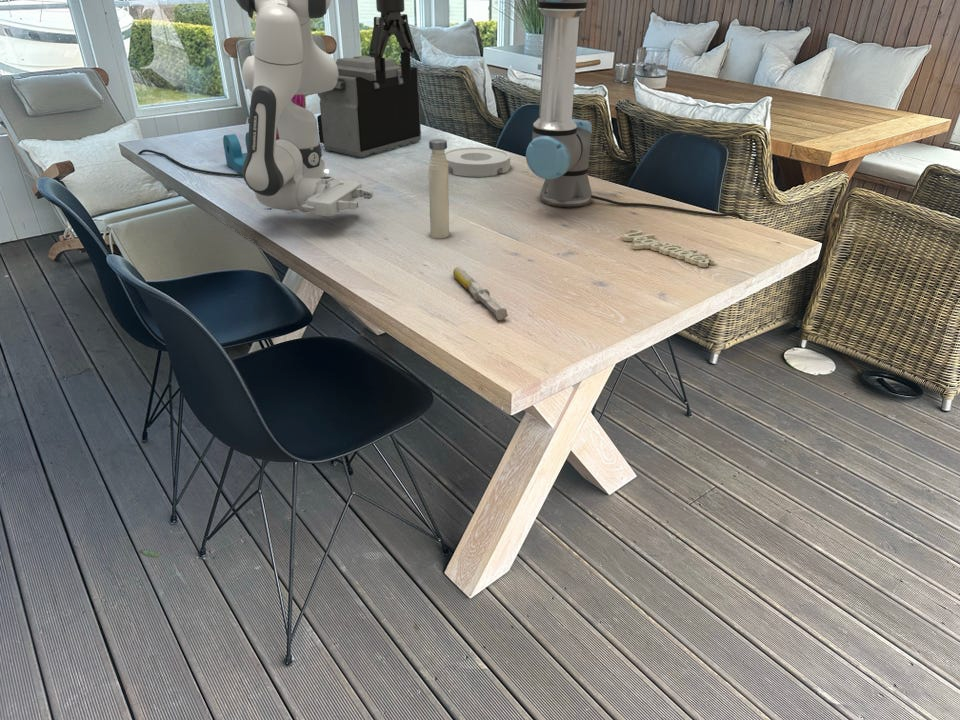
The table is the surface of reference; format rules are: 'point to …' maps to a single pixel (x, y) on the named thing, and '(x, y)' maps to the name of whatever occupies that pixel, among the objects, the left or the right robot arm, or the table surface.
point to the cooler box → (369, 109)
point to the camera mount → (234, 151)
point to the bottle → (438, 195)
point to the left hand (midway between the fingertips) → (364, 200)
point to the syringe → (479, 293)
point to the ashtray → (477, 161)
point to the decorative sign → (667, 248)
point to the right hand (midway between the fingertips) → (394, 80)
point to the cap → (438, 144)
